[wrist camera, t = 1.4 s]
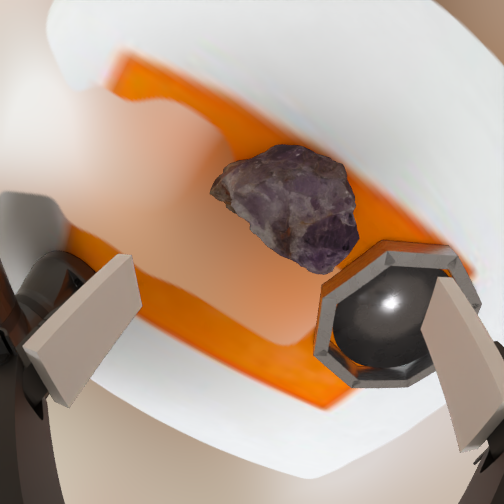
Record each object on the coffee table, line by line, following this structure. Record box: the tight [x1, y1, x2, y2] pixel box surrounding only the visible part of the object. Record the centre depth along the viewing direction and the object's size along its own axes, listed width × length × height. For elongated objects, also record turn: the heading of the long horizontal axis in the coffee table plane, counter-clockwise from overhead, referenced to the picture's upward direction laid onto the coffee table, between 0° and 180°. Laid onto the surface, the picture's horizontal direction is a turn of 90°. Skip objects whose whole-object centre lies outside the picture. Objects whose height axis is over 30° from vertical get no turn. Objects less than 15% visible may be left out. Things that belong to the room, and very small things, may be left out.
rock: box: [210, 144, 359, 275], centre depth 25 cm, size 12×9×10 cm
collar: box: [313, 240, 482, 388], centre depth 31 cm, size 19×19×2 cm
